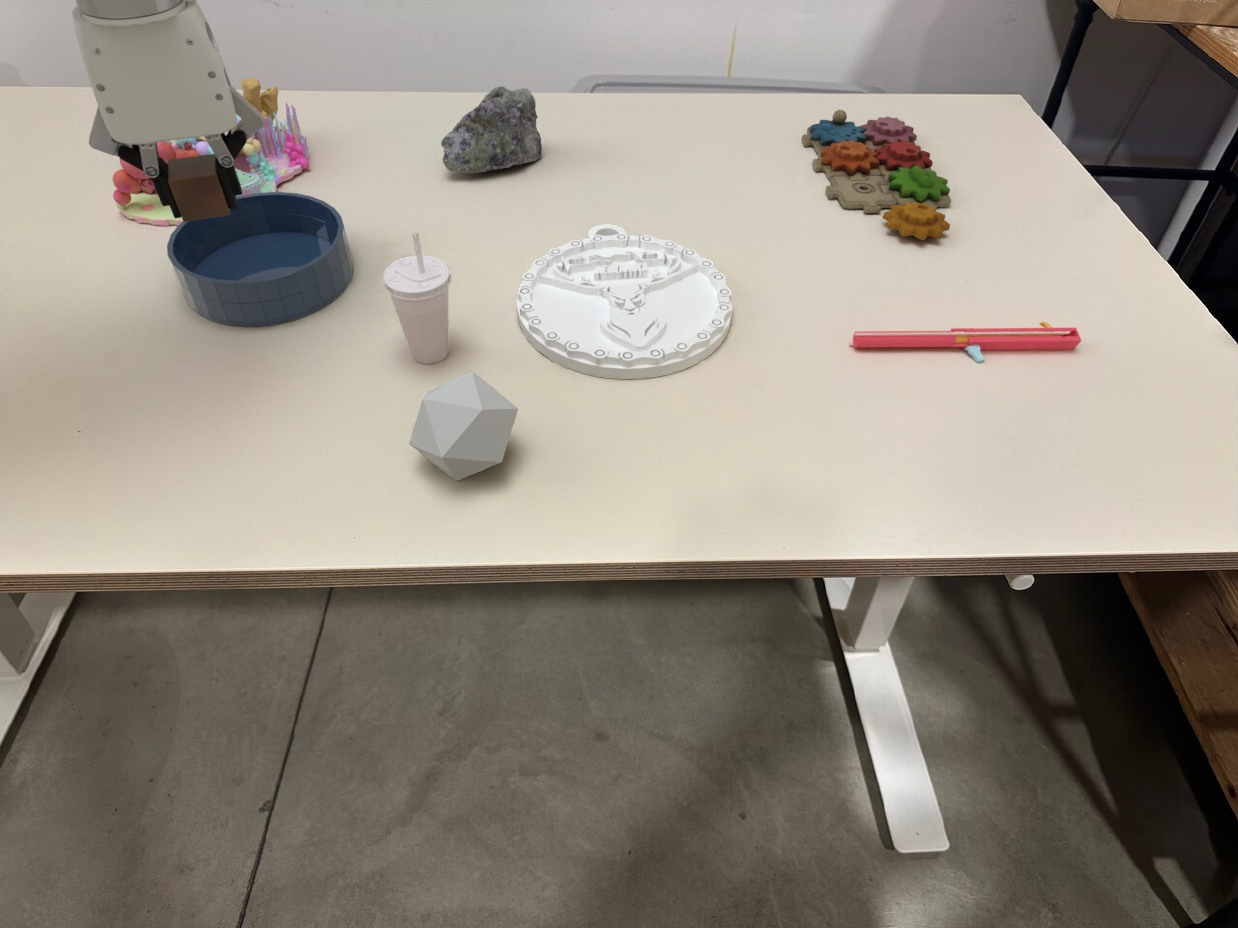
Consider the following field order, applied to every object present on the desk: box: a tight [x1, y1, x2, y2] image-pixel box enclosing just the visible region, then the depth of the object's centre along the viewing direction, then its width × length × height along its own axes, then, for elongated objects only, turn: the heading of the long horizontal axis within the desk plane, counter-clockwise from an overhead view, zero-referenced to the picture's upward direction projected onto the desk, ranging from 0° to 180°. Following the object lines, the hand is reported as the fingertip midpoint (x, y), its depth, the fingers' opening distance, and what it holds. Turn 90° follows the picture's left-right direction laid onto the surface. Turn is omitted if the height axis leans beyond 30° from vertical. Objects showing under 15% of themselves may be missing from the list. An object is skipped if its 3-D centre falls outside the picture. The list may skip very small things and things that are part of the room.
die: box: [408, 369, 519, 482], centre depth 76 cm, size 8×9×10 cm
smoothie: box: [382, 231, 452, 365], centre depth 84 cm, size 6×6×14 cm
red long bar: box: [848, 321, 1082, 363], centre depth 91 cm, size 24×2×5 cm
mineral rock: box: [440, 85, 543, 174], centre depth 113 cm, size 13×11×10 cm
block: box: [168, 154, 230, 222], centre depth 77 cm, size 4×4×4 cm
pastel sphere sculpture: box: [112, 77, 311, 227], centre depth 110 cm, size 25×24×9 cm
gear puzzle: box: [801, 109, 952, 241], centre depth 114 cm, size 31×16×4 cm, turn 4°
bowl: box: [166, 191, 354, 328], centre depth 95 cm, size 18×18×6 cm
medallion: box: [516, 223, 734, 380], centre depth 95 cm, size 24×27×2 cm
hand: (205, 204), depth 79 cm, fingers closed on block, 4 cm apart
